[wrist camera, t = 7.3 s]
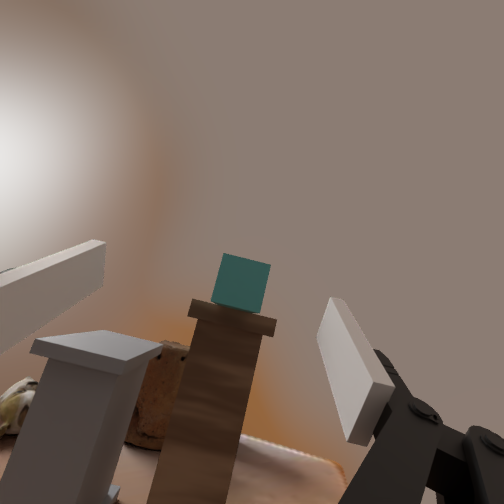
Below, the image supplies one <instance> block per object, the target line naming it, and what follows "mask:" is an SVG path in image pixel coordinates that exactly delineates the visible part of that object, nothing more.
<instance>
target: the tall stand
mask: <svg viewBox="0 0 504 504" xmlns="http://www.w3.org/2000/svg"><path fill="white" fill-rule="evenodd" d="M188 316H189V317H193V318H197V319H198V320H197V324H196V328H195V331H194V335H193V338H192V342H191V346H190V349H189V353H188V356H187V360H186V364H185V367H184V371H183V374H182V378H181V381H180V385H179V389H178V392H177V396H176V399H175V403H174V407H173V410H172V414H171V417H170V421H169V425H168V428H167V432H166V435H165V439H164V442H163V446H162V450H161V453H160V457H159V460H158V464H157V468H156V471H155V475H154V478H153V482H152V485H151V489H150V493H149V496H148V500H147V503H146V504H225V503H226V498H227V494H228V489H229V485H230V480H231V476H232V471H233V467H234V462H235V458H236V453H237V448H238V444H239V439H240V435H241V430H242V426H243V421H244V416H245V412H246V407H247V403H248V398H249V394H250V390H251V385H252V381H253V376H254V371H255V367H256V362H257V358H258V353H259V349H260V344H261V340H262V335H266V336H270V337H273V336H274V331H275V326H276V322H277V320H276V319H272V318H268V317H264V316H260V315H256V314H252V313H248V312H244V311H240V310H236V309H232V308H228V307H224V306H220V305H216V304H212V303H208V302H204V301H200V300H196V299H192V302H191V306H190V309H189V312H188Z"/></svg>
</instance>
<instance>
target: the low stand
mask: <svg viewBox="0 0 504 504" xmlns="http://www.w3.org/2000/svg"><path fill="white" fill-rule="evenodd" d="M162 348H163V344H160V343H155V342H152V341H147V340H143V339H139V338H135V337H131V336H127V335H123V334H119V333H114V332H111V331H106V330H100V331H93V332H84V333H76V334H69V335H60V336H52V337H44V338H36V339H35V340H34V343H33V345H32V347H31V350H30V353H32V354H36V355H40V356H44V357H48V358H49V359H48V361H47V364H46V366H45V369H44V371H43V374H42V377H41V379H40V382H39V384H38V387H37V389H36V392H35V394H34V397H33V399H32V402H31V404H30V407H29V410H28V412H27V415H26V417H25V420H24V422H23V425H22V427H21V430H20V432H19V435H18V438H17V440H16V443H15V445H14V448H13V450H12V453H11V455H10V458H9V460H8V463H7V466H6V468H5V471H4V473H3V476H2V478H1V481H0V504H114V502H115V501H116V499H117V497H118V494H119V490H120V486H116V485H112V484H111V482H112V479H113V476H114V472H115V469H116V466H117V463H118V460H119V456H120V453H121V450H122V447H123V443H124V440H125V437H126V434H127V430H128V427H129V424H130V421H131V417H132V414H133V411H134V408H135V405H136V401H137V398H138V395H139V392H140V388H141V385H142V382H143V379H144V375H145V372H146V369H147V366H148V363H149V360H150V359H152V358H154V357H156V356H158V355H159V354H161V351H162Z"/></svg>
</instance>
